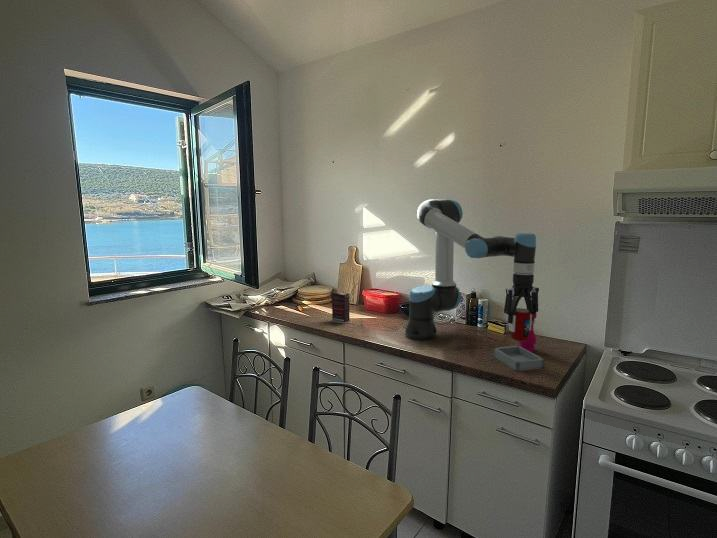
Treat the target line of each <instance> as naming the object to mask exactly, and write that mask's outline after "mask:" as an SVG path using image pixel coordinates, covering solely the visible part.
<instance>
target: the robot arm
mask: <svg viewBox="0 0 717 538" xmlns="http://www.w3.org/2000/svg"><path fill="white" fill-rule="evenodd" d="M416 213H417V214H416V216H417V219H418V221H419V222H420V223H421V224H422V225H423V226H424V227H426V228H427V229H432V230H434V231H435V261H434V262H435V267H434V268H435V269H434V270H435V278H434V279H435V280H434V281H433V282H432V284H431V286H430V285H419V286H416V287H413V288H412V289H411V290H410V291H409V298H408V300H409V307H408V308H409V311H408V312H409V313H408V315H409V317H408V322H407V324H406V327H405V331H404V333H405V334H404V335H405V337H406V338H409V339H410V340H411V339H412V340H415V341H416V340H419V341H429V340H435V339H436V338H437V336H438V330H437V327H436V324H435V321H434V320H435V319H434V318H435V317H434V315H435V314H434V313H440V312H445V311H451V310H454V309H456V308H458V307H459V305H460V303H461V301H462V293H461V291H460V288H459V287H457V283H456V282H455V281H454V253H455V252H454V247H455V245H454V243H455V244H457V245H458V246H460V247H462V248H463V249H464V251H465V253H466V255H467V256H468V257H470V258H471V259H482V258H491V257H500V256H501V257H504V256H505V257H513V267H512V268H513V270H512V272H513V274H512V283H513V285H512V287H511V288H505V294H506V295H505V301H504V308H503V313H504V314H507V315H508V316H507V323H508V324H509V325H508V331H510V332H511V331H512V332H515V320H516V316H515V315H514V313H515V311H516V308H518V305H519V302H520V301H521V300H522V298H524V302H525V306H526V309H527V310H529V313H530V329H529V331H530V330H531V323H532V322H533V314H534V315H535V314H537V313H538V312H539V291H540V288H539V287H537V286H534V285H533V284H534V279H535V275H534V273H535V260H536V250H537V236H536V234H534V233H525V232H524V233H523V232H521V233H516V234H515V236H514V237H509V236H501V235H499V236H498V235H497V236H493V237H483V236H482V235H479V234H477V232H475V231H473V230H471V229H469V228H467V227H466V226H464V225H462V224H461V220H463V214H464V213H463V209H462V206H461V204H459V202H458V201H456V200H454V199H427V200H425V201H423V202H421V204H419V206H418V208H417V212H416Z"/></svg>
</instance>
